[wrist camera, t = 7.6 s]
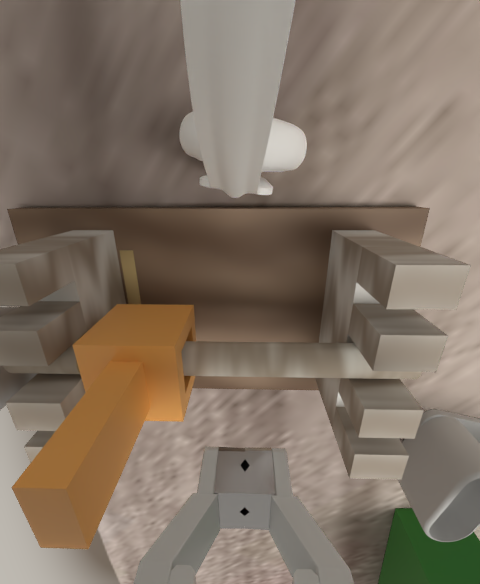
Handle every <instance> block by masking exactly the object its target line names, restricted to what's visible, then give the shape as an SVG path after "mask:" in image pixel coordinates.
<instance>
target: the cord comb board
mask: <svg viewBox="0 0 480 584" xmlns="http://www.w3.org/2000/svg"><path fill="white" fill-rule="evenodd" d="M429 209H430V208H422V207H86V208H15V209H7V210H8V213H9V217H10V220H11V223H12V226H13V229H14V233H15V236H16V239H17V242H18V245H15V246H11V247H7V248H4V249H0V306H20V307H0V410H1V409H2V408H3V407H4V406H6V405H7V408H8V410H9V412H10V415H11V417H12V420H13V422H14V424H15V427H16V429H17V430H30V431H31V430H32V431H37V432H36V433H35V435H34V436H33V437H32V438H31V439H30V440H29V442H28V443H27V444H26V445H25V446H24V448H25V450H26V452H27V455H28V458H29V460H30V462H32V461H33V460H34V458H35V457H36V456H37V454H38V453H39V452H40V451H41V449H42V448H43V447H44V445H45V444H46V443H47V442H48V440H49V439H50V438H51V436H52V435H53V434H54V433H55V431H56V430H57V429H58V428H59V426H60V425H61V424H62V422H63V421H64V420H65V419H66V417H67V416H68V415H69V413H70V412H71V411H72V410H73V408H74V407H75V406H76V404H77V403H78V402H79V401H80V399H81V398H82V397H83V395H84V394H85V389H84V385H83V382H82V378H81V374H80V371H79V367H78V364H77V360H76V356H75V353H74V349H73V344H74V343H75V342H76V341H77V340H79V339H80V338H81V337H82V336H83V335H84V334H85V333H86V332H87V331H88V330H89V329H91V328H92V327H93V326H94V325H95V324H96V323H97V322H98V321H99V320H100V319H102V318H103V317H104V316H105V315H106V314H107V313H108V312H109V311H110V310H111V309H112V308H114V307H115V306H116V305H117V304H155V305H194V316H195V330H196V341H186V342H185V344H184V347H183V349H182V352H181V353H182V363H183V373H184V376H195V380H194V384H193V387H192V388H212V389H273V390H319V391H320V394H321V397H322V400H323V403H324V406H325V409H326V411H327V414H328V417H329V420H330V423H331V426H332V429H333V432H334V435H335V438H336V440H337V443H338V446H339V449H340V452H341V455H342V458H343V461H344V464H345V467H346V469H347V472H348V475H349V478H357V479H396V480H401V479H402V476H403V473H404V470H405V467H406V464H407V461H408V458H409V455H408V453H407V451H406V449H405V448H404V446H403V444H402V443H401V441H400V439H399V438H406V439H415V436H416V433H417V430H418V427H419V424H420V421H421V418H422V415H423V411H424V410H423V409H422V407H421V406H420V405H419V403H418V402H417V401H416V400H415V398H414V397H413V396H412V394H411V393H410V392H409V391H408V389H407V388H406V387H405V385H404V384H403V383H402V382H401V380H400V379H418V378H419V377H420V376H421V374H422V372H436V371H437V368H438V365H439V362H440V359H441V356H442V353H443V350H444V347H445V344H446V341H447V338H448V335H446V334H445V333H444V332H442V331H441V330H440V329H438V328H437V327H436V326H434V325H433V324H432V323H430V322H429V321H428V320H427V319H425V318H424V317H423V316H421V315H420V314H419V313H417V312H416V311H415V310H413V309H419V310H457V307H458V304H459V301H460V298H461V294H462V291H463V288H464V285H465V282H466V279H467V276H468V273H469V270H470V267H471V265H469V264H466V263H463V262H460V261H458V260H455V259H452V258H449V257H447V256H444V255H441V254H438V253H436V252H433V251H430V250H427V249H425V248H422V247H420V246H421V242H422V238H423V234H424V229H425V225H426V221H427V217H428V213H429Z"/></svg>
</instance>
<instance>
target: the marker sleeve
mask: <svg viewBox="0 0 480 584" xmlns="http://www.w3.org/2000/svg"><path fill="white" fill-rule="evenodd" d="M186 341H196V330H195V316H194V305H155V304H117V305H116V306H115V307H114V308H112V309H111V310H110V311H109V312H108V313H107V314H106V315H105V316H104V317H103V318H102V319H100V320H99V321H98V322H97V323H96V324H95V325H94V326H93V327H92V328H91V329H89V330H88V331H87V332H86V333H85V334H84V335H83V336H82V337H81V338H80V339H79V340H77V341H76V342H75V343H74V344H73V349H74V353H75V356H76V360H77V364H78V367H79V371H80V374H81V378H82V382H83V385H84V389H85V394H84V395H83V397H82V398H81V399H80V401H79V402H78V403H77V404H76V406H75V407H74V408H73V410H72V411H71V412H70V413H69V415H68V416H67V417H66V419H65V420H64V421H63V422H62V424H61V425H60V426H59V428H58V429H57V430H56V431H55V433H54V434H53V435H52V436H51V438H50V439H49V440H48V442H47V443H46V444H45V445H44V447H43V448H42V449H41V451H40V452H39V453H38V454H37V456H36V457H35V458H34V460H33V461H32V462H31V464H30V465H29V466H28V467H27V469H26V470H25V471H24V472H23V474H22V475H21V476H20V477H19V479H18V480H17V482H16V483H15V484H14V485H13V486H12V489H13V491H14V493H15V496H16V498H17V500H18V502H19V504H20V506H21V508H22V510H23V512H24V514H25V516H26V518H27V520H28V522H29V524H30V527H31V528H32V531H33V533H34V535H35V537H36V539H37V541H38V543H39V545H40V547H41V548H70V549H89V547H90V544H91V542H92V540H93V537H94V535H95V533H96V530H97V528H98V526H99V524H100V521H101V519H102V517H103V515H104V512H105V510H106V508H107V505H108V503H109V501H110V499H111V496H112V494H113V492H114V489H115V487H116V485H117V483H118V480H119V478H120V476H121V474H122V471H123V469H124V467H125V464H126V462H127V460H128V458H129V455H130V453H131V451H132V448H133V446H134V444H135V442H136V439H137V437H138V435H139V432H140V430H141V428H142V426H143V423H144V421H183V420H184V416H185V413H186V409H187V405H188V402H189V398H190V394H191V391H192V387H193V384H194V380H195V376H184V373H183V363H182V353H181V352H182V349H183V347H184V344H185V342H186Z"/></svg>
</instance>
